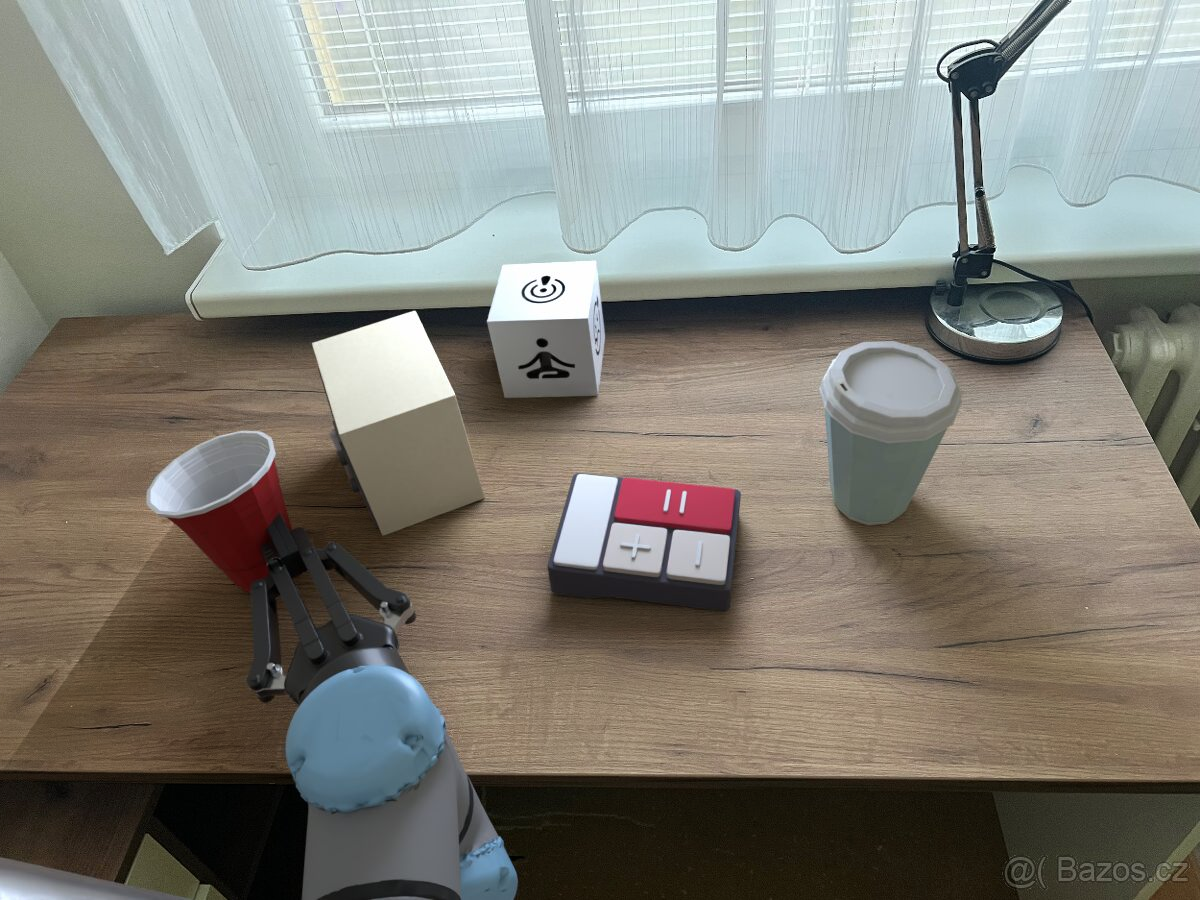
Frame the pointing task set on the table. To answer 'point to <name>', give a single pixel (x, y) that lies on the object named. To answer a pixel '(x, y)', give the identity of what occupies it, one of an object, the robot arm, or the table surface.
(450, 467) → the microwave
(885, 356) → the disposable coffee cup
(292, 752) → the robot arm
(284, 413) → the table surface
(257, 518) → the plastic cup
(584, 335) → the icon cube
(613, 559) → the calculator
